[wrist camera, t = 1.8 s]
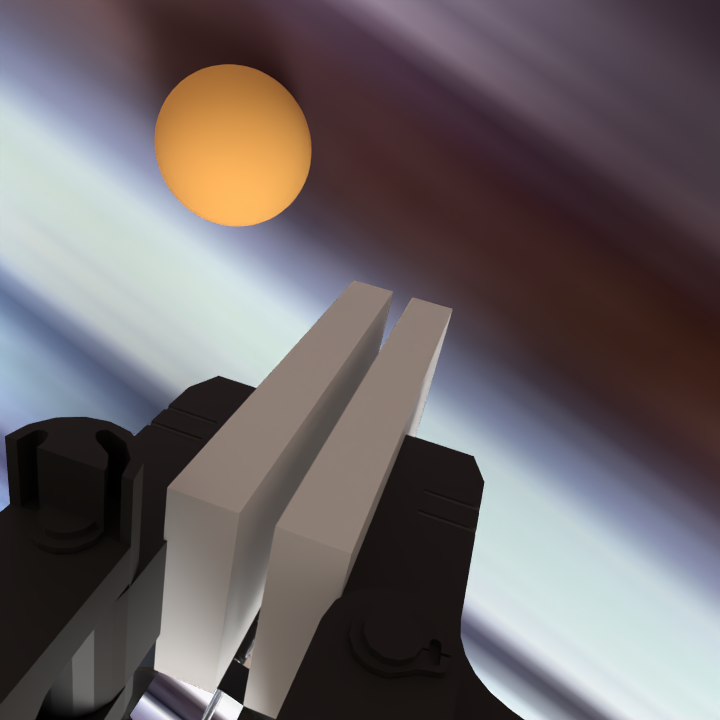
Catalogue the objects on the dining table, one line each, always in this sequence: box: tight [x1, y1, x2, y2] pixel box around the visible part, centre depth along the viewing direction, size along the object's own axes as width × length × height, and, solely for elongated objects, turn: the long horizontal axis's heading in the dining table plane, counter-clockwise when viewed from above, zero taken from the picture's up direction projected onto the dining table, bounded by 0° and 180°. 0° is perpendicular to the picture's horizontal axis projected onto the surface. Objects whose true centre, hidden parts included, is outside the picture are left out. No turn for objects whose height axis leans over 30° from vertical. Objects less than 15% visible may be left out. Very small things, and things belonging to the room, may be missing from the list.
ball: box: [155, 64, 311, 226], centre depth 25 cm, size 6×6×6 cm
